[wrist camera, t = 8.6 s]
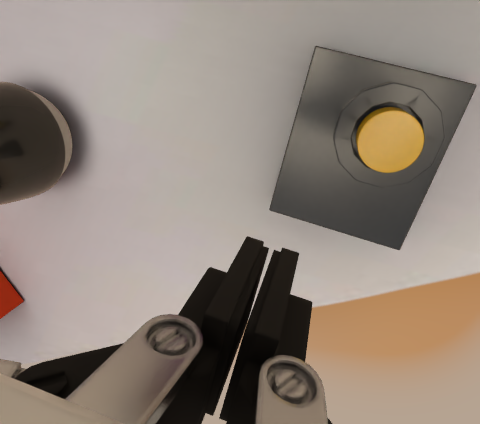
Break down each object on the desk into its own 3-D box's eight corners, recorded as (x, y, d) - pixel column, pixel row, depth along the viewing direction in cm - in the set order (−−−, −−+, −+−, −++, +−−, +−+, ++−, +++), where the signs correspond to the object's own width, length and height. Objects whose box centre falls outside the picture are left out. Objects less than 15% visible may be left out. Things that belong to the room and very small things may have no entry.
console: (317, 47, 28) (313, 44, 24) (465, 83, 27) (488, 86, 23) (273, 200, 34) (264, 219, 30) (395, 237, 32) (403, 262, 28)
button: (368, 100, 25) (370, 103, 23) (428, 115, 24) (435, 119, 23) (347, 156, 27) (348, 163, 25) (403, 172, 26) (409, 180, 24)
